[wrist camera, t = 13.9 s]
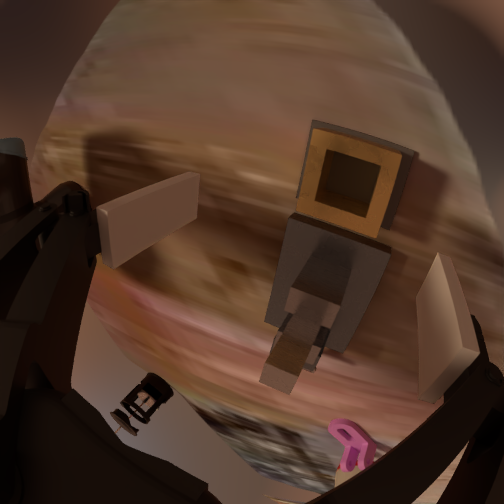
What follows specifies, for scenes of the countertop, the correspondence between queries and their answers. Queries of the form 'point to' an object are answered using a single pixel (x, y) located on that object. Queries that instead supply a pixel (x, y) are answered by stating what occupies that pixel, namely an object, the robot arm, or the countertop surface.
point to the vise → (318, 295)
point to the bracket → (353, 444)
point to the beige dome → (345, 474)
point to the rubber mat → (361, 172)
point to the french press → (150, 393)
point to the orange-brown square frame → (337, 205)
